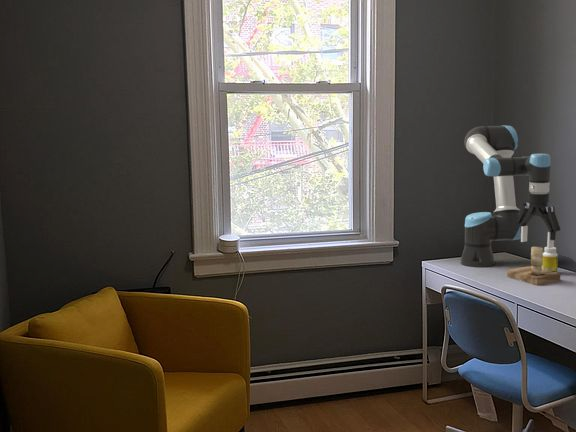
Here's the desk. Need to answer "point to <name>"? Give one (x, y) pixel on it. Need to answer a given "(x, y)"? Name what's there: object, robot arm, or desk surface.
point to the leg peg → (536, 260)
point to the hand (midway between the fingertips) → (536, 244)
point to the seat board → (526, 276)
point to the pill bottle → (550, 259)
